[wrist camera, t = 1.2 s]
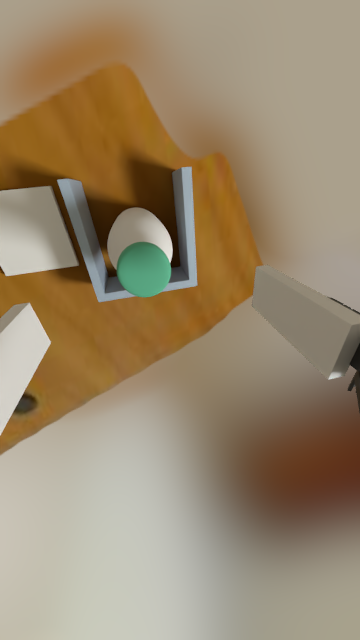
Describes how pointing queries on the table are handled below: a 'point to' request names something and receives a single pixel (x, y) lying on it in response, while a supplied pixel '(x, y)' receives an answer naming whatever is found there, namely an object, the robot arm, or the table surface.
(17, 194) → the tile
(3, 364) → the robot arm
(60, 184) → the grey u-shaped piece
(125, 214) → the milk bottle
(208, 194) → the table surface
